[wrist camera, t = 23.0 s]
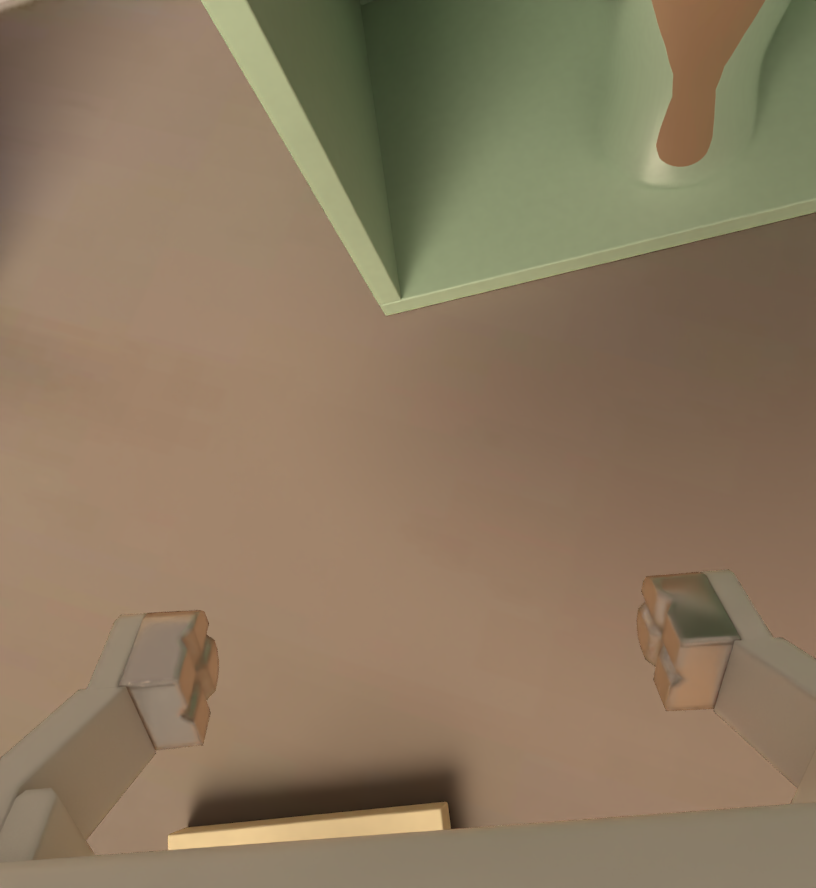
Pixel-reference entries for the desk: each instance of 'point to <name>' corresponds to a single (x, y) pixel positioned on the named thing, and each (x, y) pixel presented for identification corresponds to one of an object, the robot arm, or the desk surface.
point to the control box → (316, 826)
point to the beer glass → (681, 85)
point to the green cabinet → (496, 138)
